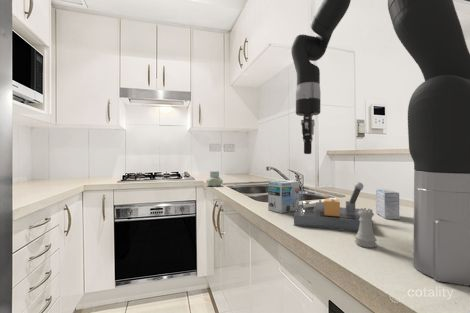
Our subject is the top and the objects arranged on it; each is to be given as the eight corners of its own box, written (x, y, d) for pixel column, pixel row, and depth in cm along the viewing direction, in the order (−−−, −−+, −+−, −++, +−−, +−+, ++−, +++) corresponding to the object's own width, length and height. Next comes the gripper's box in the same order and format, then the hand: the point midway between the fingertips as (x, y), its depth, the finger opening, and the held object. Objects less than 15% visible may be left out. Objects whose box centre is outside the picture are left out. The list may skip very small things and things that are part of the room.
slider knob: (339, 216, 68) (339, 200, 68) (324, 215, 70) (324, 199, 70) (338, 213, 72) (339, 197, 72) (324, 212, 73) (324, 196, 73)
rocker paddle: (338, 203, 73) (336, 198, 73) (304, 208, 76) (303, 204, 76) (337, 200, 77) (336, 196, 77) (305, 205, 80) (304, 201, 80)
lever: (354, 211, 77) (365, 184, 76) (345, 207, 78) (356, 181, 77) (353, 209, 80) (364, 183, 78) (344, 206, 80) (355, 180, 79)
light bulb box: (281, 213, 85) (281, 182, 85) (267, 210, 91) (267, 181, 91) (300, 209, 92) (300, 180, 92) (285, 206, 97) (286, 179, 97)
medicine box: (399, 220, 78) (400, 192, 78) (384, 219, 79) (384, 192, 79) (389, 214, 86) (389, 189, 86) (375, 213, 87) (375, 189, 87)
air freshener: (222, 185, 168) (222, 170, 168) (222, 186, 160) (222, 171, 160) (206, 185, 168) (206, 170, 168) (206, 186, 159) (206, 171, 159)
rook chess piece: (365, 249, 53) (365, 211, 53) (350, 242, 57) (350, 207, 57) (381, 247, 54) (382, 210, 54) (365, 240, 58) (366, 206, 58)
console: (372, 233, 64) (372, 210, 64) (293, 225, 71) (294, 204, 71) (363, 218, 80) (363, 199, 80) (299, 212, 86) (299, 195, 87)
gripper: (298, 104, 86) (297, 154, 85) (293, 95, 73) (293, 153, 73) (320, 103, 83) (320, 154, 83) (320, 93, 71) (319, 153, 70)
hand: (307, 153), depth 78 cm, fingers closed
